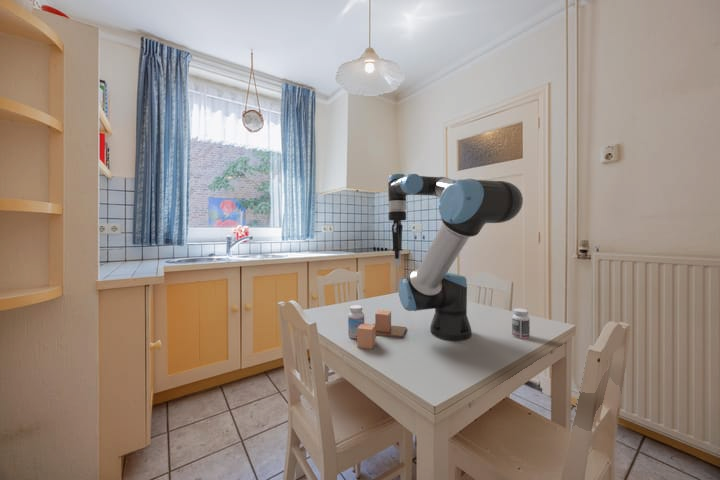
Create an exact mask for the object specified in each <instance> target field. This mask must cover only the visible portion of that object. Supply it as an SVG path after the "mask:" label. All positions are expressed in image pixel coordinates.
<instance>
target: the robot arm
mask: <svg viewBox="0 0 720 480" xmlns="http://www.w3.org/2000/svg"><path fill="white" fill-rule="evenodd" d="M387 187H388V203H387V204H386V205H387V207H388V220H389V221H391V222H392V221H393V222H392V225H391V233H392V235H391V236H392V249H391V251H392V252H393V266H394V267H401V265H402V264H401V263H402V251H403V247H402V243H403V241H402V240H403V229H404V228H403V227H404V226H403V224H402V221H406V220H407V212H406V210H407V196H432V197H437V198H439V203H440V204H438V212H439V215H440V221H441V222H442V224H441V225H440V227H439V230H438V231H437V233H436V235H435V237H434V239H433V240H432V243H431V245H430V247H429V249H428V250H427V252H426V254H425V256H424V258H423V260H422V262H421V264H420V265H419V267H418V268H417V269H416V268H415V269H414V270H412V272H411V273H410V275H409V277H408V278H405V277H404V278H402V279H400V280H399V282H398V288H397V289H398V290H397V291H398V297H399V301H400V303H401V305H402V307H403V308H404V310H406V311H408V312H412V311H414V312H417V311H423V310H425V311H426V310H433V309H434V314H433V317H432V320H431V323H430V327H429V328H430V329H429V330H430V333H431V334H432V335H433V336H434V337H436V338H440V339H443V340H446V341H447V340H449V341H465V340H469V339H470V338H471V337H472V327H471V325H470V324H471V323H470V321H469V318H468V315H467V314H468V313H467V312H468V310H467V306H468V305H467V304H468V300H467V299H468V297H467V295H468V294H467V293H468V281H467V278H466V277H465V276H464V275H462V274H458V273H457V274H456V273H450V272H448V271H449V270H450V268H451V267H452V265H453V264H454V262H455V260H456V259H457V257H458V256H459V254H460V253H461V251H462V250H463V248H464V247H465V245H466V244H467V242H468V240H469V238H470V237H471V238H472V237H476V236H477V235H479V233H480V231H481V230H482V229H483V228H484V226H485V225H486V224H499V223H500V224H501V223H505V222H509V221H511V220H512V219H514V218H515V217H516V216H518V214H519V213H520V211H521V210H522V207H523V204H524V201H523V200H524V198H523V194H522V192H521V190H520V188H518V186H516V185H515V184H513V183H511V182H509V181H505V180H482V179H474V178H465V179H452V178H449V177H444V176H426V175H425V176H424V175H423V176H422V175H419V174H418V173H409V174H406V175H405V174H403V173H394V174H390V175H389V176H388V183H387Z"/></svg>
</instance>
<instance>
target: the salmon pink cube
mask: <svg viewBox="0 0 720 480" xmlns="http://www.w3.org/2000/svg"><path fill="white" fill-rule="evenodd" d="M374 316H375V319H374V320H375V321H374V322H375V323H374V324H375V325H376V331H384V332H389V330H390V329H391V326H392V311H391V310H377V312H376V313H375V315H374Z"/></svg>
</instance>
